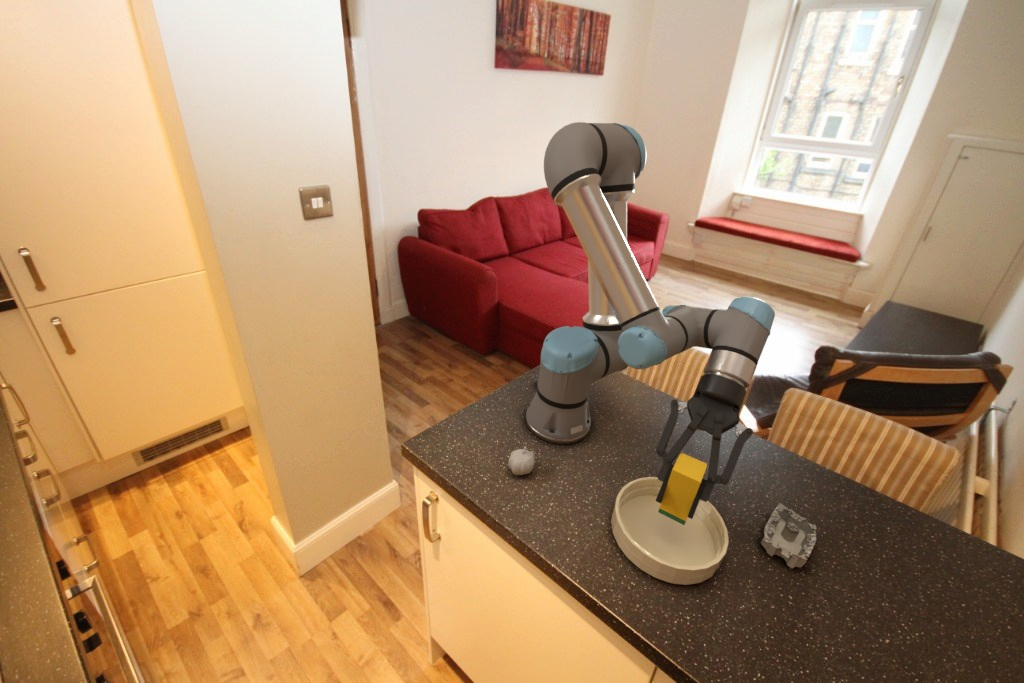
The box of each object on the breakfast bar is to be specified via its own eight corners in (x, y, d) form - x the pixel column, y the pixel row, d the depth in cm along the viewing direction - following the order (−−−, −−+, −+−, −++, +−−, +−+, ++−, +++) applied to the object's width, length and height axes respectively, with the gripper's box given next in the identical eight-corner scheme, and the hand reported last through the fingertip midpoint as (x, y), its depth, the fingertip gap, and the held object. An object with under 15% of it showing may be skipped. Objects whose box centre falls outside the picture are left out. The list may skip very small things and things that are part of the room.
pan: (590, 511, 84) (594, 494, 82) (666, 481, 92) (671, 466, 90) (661, 605, 69) (668, 588, 67) (744, 560, 77) (753, 544, 75)
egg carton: (799, 575, 76) (809, 560, 74) (754, 546, 80) (762, 531, 78) (815, 537, 83) (824, 523, 81) (772, 513, 87) (780, 498, 85)
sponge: (666, 493, 80) (680, 452, 75) (691, 506, 78) (708, 464, 73) (657, 512, 76) (672, 469, 71) (684, 525, 74) (700, 482, 69)
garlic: (521, 455, 95) (523, 437, 93) (540, 469, 92) (542, 450, 90) (501, 469, 91) (502, 450, 89) (520, 484, 88) (522, 465, 86)
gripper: (776, 406, 76) (728, 537, 72) (674, 370, 84) (625, 486, 80) (784, 395, 70) (732, 538, 65) (673, 357, 78) (620, 483, 73)
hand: (673, 509), depth 73 cm, fingers closed on sponge, 4 cm apart
